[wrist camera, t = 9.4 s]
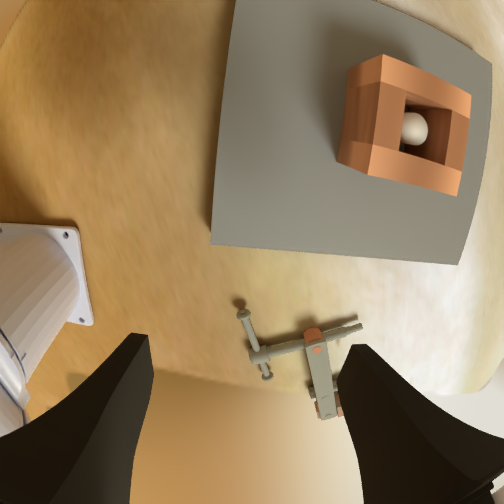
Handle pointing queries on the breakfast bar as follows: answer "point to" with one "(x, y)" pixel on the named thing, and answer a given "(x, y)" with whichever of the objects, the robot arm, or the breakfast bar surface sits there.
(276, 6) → the pin board
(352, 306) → the breakfast bar surface
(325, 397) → the clamp
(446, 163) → the collar block
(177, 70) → the breakfast bar surface
